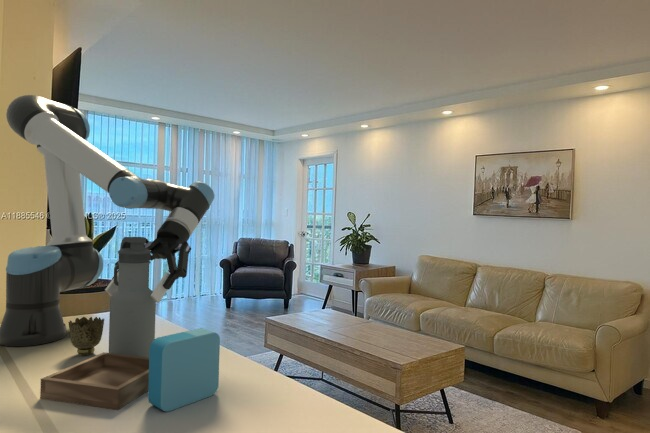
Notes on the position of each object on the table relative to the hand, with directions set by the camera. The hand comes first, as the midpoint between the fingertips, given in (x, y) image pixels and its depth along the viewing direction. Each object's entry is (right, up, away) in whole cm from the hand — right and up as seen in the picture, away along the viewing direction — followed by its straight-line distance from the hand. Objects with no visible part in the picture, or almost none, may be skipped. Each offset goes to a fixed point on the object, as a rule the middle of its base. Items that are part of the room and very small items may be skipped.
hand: (131, 296), depth 102 cm
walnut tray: (+3, -15, -16) cm, 22 cm away
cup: (-12, -14, +3) cm, 19 cm away
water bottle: (-1, -15, +1) cm, 15 cm away
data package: (+19, -15, -21) cm, 32 cm away
